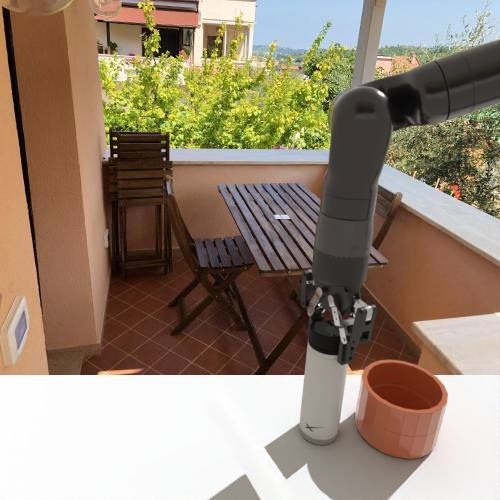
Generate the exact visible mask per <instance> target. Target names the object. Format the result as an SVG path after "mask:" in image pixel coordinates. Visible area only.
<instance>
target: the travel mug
mask: <svg viewBox="0 0 500 500" xmlns="http://www.w3.org/2000/svg"><path fill="white" fill-rule="evenodd" d="M347 332H348V334H349V333H351V330H350V325H348V326H347ZM340 341H341V338H340V333H339V328H338V327H336V326H335V324H334V319H333V318H327V319H324V320H321V321H314V322H312V323H311V324H310V329H309V337H308V339H307V347H306V355H305V363H304V365H305V366H304V374H303V375H304V376H303V385H302V395H301V403H300V405H301V406H300V413H299V422H298V430H299V433H300V435H301V436H302V438H303V439H304V440H306V441H307V442H309V443H311V444H314V445H318V446H325V445H329V444H331V443H334V442H335V441H336V439H337V438H338V435H339V429H340V428H339V427H340V422H341V415H342V407H343V402H344V394H345V389H346V388H345V387H346V381H347V374H348V367H349V363H348V364H345V365H340V364H339V363H338V362H337V359H338V351H339V344H340Z"/></svg>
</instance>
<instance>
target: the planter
mask: <svg viewBox="0 0 500 500" xmlns="http://www.w3.org/2000/svg"><path fill="white" fill-rule="evenodd" d="M360 379H361V380H360V384H359V390H358V396H357V403H356V407H355V414H354V420H355V427H356V429H357V430H358V432H359V434H360V436H361V437H362V438H363V439H364V440H365V441H366V442H367V443H368V444H369V445H370V446H372V447H374V448H375V449H376V450H378V451H379V452H381V453H384V454H386V455H389V456H392V457H395V458H402V459H408V460H409V459H410V460H411V459H419V458H422V457H424V456H427V455H429V454H431V453H432V451H433V450H434V449H435V447H436V446H437V442H438V438H439V435H440V432H441V427H442V424H443V420H444V417H445V412H446V408H447V405H448V399H449V393H448V391H447V389H446V386H445V385H444V383H443V381H441V380H440V379H439V378H438V377H437V376H436V375H435V374H433V373H432V372H430V371H429V370H427V369H426V368H424V367H421V366H420V365H417V364H415V363H413V362H408V361H405V360H398V359H379V360H376V361H373V362H370V363H369V364H368V365H367V366H366V367H364V369H363V371H362V374H361V378H360Z"/></svg>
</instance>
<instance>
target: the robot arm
mask: <svg viewBox="0 0 500 500" xmlns="http://www.w3.org/2000/svg"><path fill="white" fill-rule="evenodd" d="M499 104H500V38H499V39H496V40H492V41H489V42H485V43H482V44H478V45H475V46H472V47H469V48H466V49H462V50H460V51H457V52H453V53H450V54H447V55H445V56H442V57H439V58H436V59H433V60H430V61H428V62H425V63H422V64H421V65H420V64H419V66H416V67H413V68H412V69H409V70H407V71H404V72H400V73H397V74H393V75H388V76H385V77H381V78H378V79H375V80H370V81H367V82H364V83H361V84H357V85H353V86H351V87H348V88H346V89H343V90H342V91H340V92H339V93H338V94H337V95H336V96H335V97H334V98H333V100H332V101H331V102H330V104H329V107H328V110H327V115H326V117H327V118H326V119H327V121H326V122H327V125H328V128H329V131H330V141H329V152H328V164H327V169H326V171H325V173H324V175H323V179H322V185H321V195H320V203H319V212H318V217H317V220H316V224H315V230H314V231H315V232H314V242H313V251H312V259H311V260H312V261H311V268H310V269H307V270H303V271H302V272H301V283H300V285H301V286H300V288H301V289H300V306H301V308H306V314H307V316H308V325H307V337H308V338H309V329H310V324H311V323H312V322H314V321H321V320H325V315H323V314H324V313H325V311H327V312H329V314H330V315H331V316H332V319H334V324H335V326H336V327H338V328H339V333H340V338H341V341H340V344H339V351H338V359H337V362H338V363H339V364H340V365H345V364H348V365H349V364H350V363H352V362H354V361H355V357H356V356H355V355H356V350H357V347H359V346H363V345H366V344H369V343H370V342H371V337H372V334H373V330H374V325H375V321H376V317H377V313H378V307H377V306H376V304H374V303H372V304H367V303H366V302H365V301H363V300H362V295H361V287H362V286H363V284H364V283H365V282H366V280H367V276H368V271H369V263H370V257H371V250H372V246H373V245H372V243H373V238H374V220H375V219H374V218H375V212H376V205H377V198H378V192H379V181H380V177H381V175H382V172H383V169H384V167H385V166H384V165H385V164H386V163H385V162H386V159H387V155H388V151H389V149H390V145H391V141H392V136H393V132H394V133H395V132H397V131H400V130H403V129H407V128H411V127H426V126H432V125H437V124H441V123H444V122H447V121H451V120H454V119H457V118H460V117H463V116H467V115H469V114H473V113H476V112H478V111H481V110H484V109H487V108H490V107H491V108H492V107H493V106H496V105H499ZM310 293H311V294H310ZM309 294H310V297H309ZM348 315H349V317H348V318H346V319H343V318H342V317H345V316H348ZM348 325H350V330H351V333H349V334H348V332H347V326H348Z"/></svg>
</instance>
